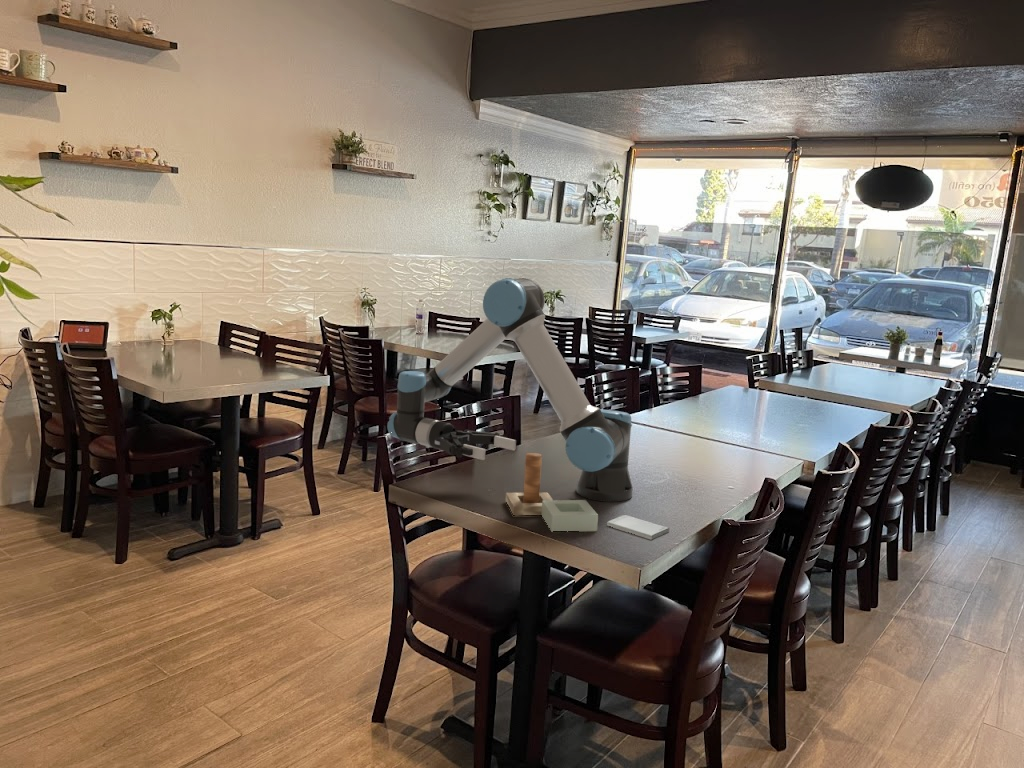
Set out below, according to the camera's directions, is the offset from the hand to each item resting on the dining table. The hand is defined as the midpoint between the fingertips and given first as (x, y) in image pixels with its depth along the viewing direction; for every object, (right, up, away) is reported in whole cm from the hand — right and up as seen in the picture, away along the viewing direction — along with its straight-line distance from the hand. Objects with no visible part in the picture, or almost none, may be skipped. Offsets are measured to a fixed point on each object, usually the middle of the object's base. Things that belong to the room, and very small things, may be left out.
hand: (500, 449), depth 201 cm
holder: (+8, -15, -3) cm, 17 cm away
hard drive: (+33, -18, -13) cm, 40 cm away
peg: (+8, -15, -3) cm, 17 cm away
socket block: (+17, -17, -13) cm, 27 cm away
